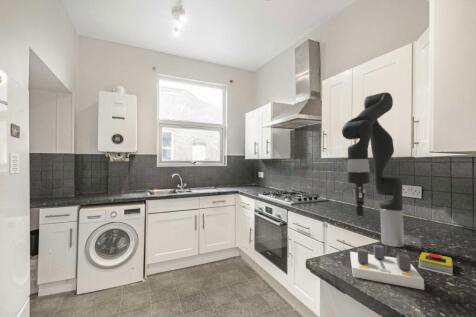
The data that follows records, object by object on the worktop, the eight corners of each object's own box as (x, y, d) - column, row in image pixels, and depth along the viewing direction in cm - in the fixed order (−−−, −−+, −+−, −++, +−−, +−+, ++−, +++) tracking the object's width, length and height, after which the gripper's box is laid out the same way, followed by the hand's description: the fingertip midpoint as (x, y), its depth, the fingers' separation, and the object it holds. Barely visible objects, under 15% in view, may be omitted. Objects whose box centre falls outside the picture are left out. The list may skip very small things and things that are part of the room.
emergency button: (417, 256, 81) (421, 247, 92) (418, 269, 81) (422, 258, 92) (452, 264, 75) (452, 253, 85) (452, 277, 74) (452, 264, 85)
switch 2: (373, 255, 84) (373, 244, 84) (383, 256, 82) (382, 245, 83) (374, 257, 81) (374, 246, 81) (384, 259, 80) (384, 248, 80)
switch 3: (397, 265, 74) (396, 253, 75) (408, 266, 73) (407, 254, 73) (399, 268, 72) (399, 256, 72) (410, 270, 70) (410, 257, 71)
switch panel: (350, 259, 89) (350, 251, 89) (407, 267, 81) (407, 259, 81) (353, 276, 73) (352, 267, 73) (424, 289, 65) (423, 279, 65)
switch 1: (357, 259, 79) (357, 248, 80) (367, 260, 78) (366, 249, 78) (358, 262, 77) (358, 250, 77) (368, 263, 75) (367, 252, 76)
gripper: (347, 171, 93) (348, 212, 92) (348, 171, 81) (349, 218, 80) (367, 171, 90) (368, 213, 89) (371, 171, 78) (373, 219, 77)
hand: (359, 215), depth 84 cm, fingers closed
